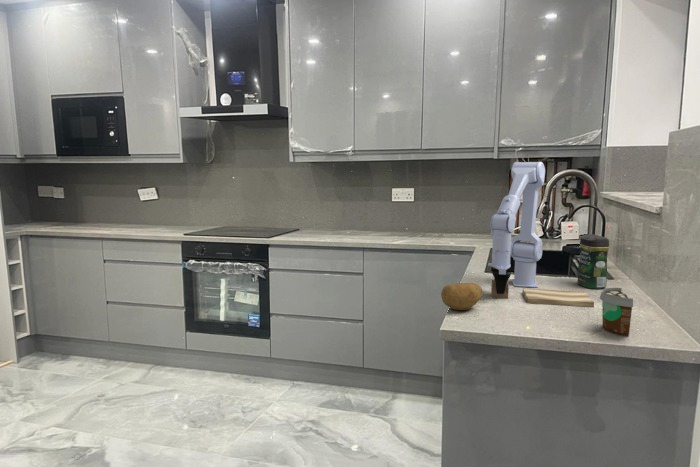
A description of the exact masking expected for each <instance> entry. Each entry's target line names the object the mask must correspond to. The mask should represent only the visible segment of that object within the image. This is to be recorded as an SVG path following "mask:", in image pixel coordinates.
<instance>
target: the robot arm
mask: <svg viewBox="0 0 700 467" xmlns="http://www.w3.org/2000/svg"><path fill="white" fill-rule="evenodd" d="M510 173H511V178H512V179H511V180H512V182H511V185H510V188H509V192H508V194H507V195H505V196H503V198H502V200H501V203H500V206H499V208H498V210H497V212H496V213H495V214H493V215H492V216H491V218H490V222H489V227H490V230H491V231H490V232H491V234H490V235H491V237H492V245H491V246H492V250H491V262H488V263H487V266H488V267H491V268H490V270H491V273H492V276H493V279H494V280H495V283H496V291H497V294H504V292H505V288H506V284H507V281H508V280H509V279H510V277H511V275H512V274H511V273H509V271H510V268H511V258H513V261H514V277H513V278H514V279H513V278H512V279H511V282H512V284H513V286H514V287H522V288H538V287H539V286H538V284H537V282H536V277H537V275H536V274H537V262H539V261H540V259H542V256H543V240H542V238H540V237H539V236H538V235H537V234H536V233H535V231H536V220H537V211H538V210H537V209H538V200H539V191H540V188H541V187H543V186H544V184H545V183H544V182H545V178H546V177H545V176H546V167H545V165H544V163H543V162H542V161H528V162H527V161H524V162H523V161H521V162H520V161H515V162H514V163H513V164H512V166H511V171H510ZM522 194H523V195H522ZM521 195H522V197H523V198H522V199H523V200H522V206H521V201H520V198H521ZM520 206H521V220H520V229H519V230H520V231H519V233H518V234H516V235H515V236H513V237H512V232H513V231H514V230H515V229H516V228H515V227H516V220H517V216H516V215H517V213H518V211H519V208H520ZM508 282H509V281H508Z"/></svg>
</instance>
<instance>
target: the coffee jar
mask: <svg viewBox="0 0 700 467" xmlns="http://www.w3.org/2000/svg"><path fill="white" fill-rule="evenodd" d="M579 240H580V241H579V252H580V253H579V264H578V272H577V284H578V285H580V286H582V287H584V288H587V289H594V290H601V289H602V290H603V289H606V288H607V282H608V281H607V277H608V273H607V272H608V270H607V269H608V253H609V250H610V239H609V238H607V237H606V236H601V235H597V234H594V233H593V234H582V236H580V239H579Z"/></svg>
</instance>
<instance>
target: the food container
mask: <svg viewBox="0 0 700 467" xmlns="http://www.w3.org/2000/svg"><path fill="white" fill-rule="evenodd" d="M622 289H623V288H622V287H605V288H602V291H601V292H600V294H599V299H600V300H601V302H602V306H601V307H602V308H601V310H602V312H601V313H602V319H601V320H602V329H603V330H604V332H607V333H610V334H613V335H617V336H624V337H630V328H631V321H632V320H631V319H632V313H633V312H632V310H633V308H634V298H629V297H628V295H627V294H626V293H623V292H622Z"/></svg>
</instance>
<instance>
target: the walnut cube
mask: <svg viewBox="0 0 700 467" xmlns="http://www.w3.org/2000/svg"><path fill="white" fill-rule="evenodd" d="M509 287H510V283H509V281H507V284H506V288H505V292H504V294H497V291H496V283H495V280H494V278H493V279H491V287H490V289H491V290H490V291H491V292H490V294H491V298H493V299H504V300H506V299H507V300H508V299H509V291H510V290H509Z"/></svg>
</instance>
